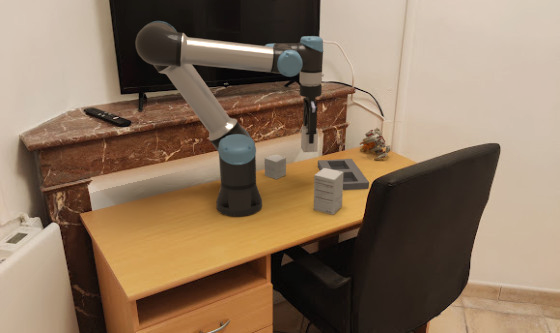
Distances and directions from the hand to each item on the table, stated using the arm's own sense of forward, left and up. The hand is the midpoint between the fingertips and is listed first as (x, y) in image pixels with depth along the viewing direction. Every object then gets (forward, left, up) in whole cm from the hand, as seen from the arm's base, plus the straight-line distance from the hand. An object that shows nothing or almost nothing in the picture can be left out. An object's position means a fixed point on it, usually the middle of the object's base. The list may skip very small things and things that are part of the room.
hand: (308, 148), depth 167 cm
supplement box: (+3, -19, -15) cm, 24 cm away
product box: (-11, +11, -15) cm, 21 cm away
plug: (0, 0, 0) cm, 0 cm away
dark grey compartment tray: (+14, +6, -14) cm, 21 cm away
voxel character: (+32, +26, -15) cm, 44 cm away
